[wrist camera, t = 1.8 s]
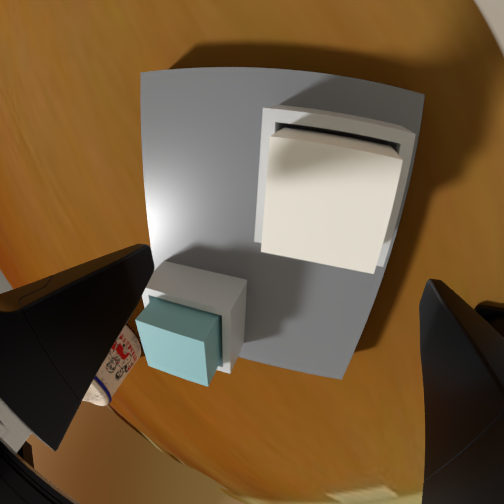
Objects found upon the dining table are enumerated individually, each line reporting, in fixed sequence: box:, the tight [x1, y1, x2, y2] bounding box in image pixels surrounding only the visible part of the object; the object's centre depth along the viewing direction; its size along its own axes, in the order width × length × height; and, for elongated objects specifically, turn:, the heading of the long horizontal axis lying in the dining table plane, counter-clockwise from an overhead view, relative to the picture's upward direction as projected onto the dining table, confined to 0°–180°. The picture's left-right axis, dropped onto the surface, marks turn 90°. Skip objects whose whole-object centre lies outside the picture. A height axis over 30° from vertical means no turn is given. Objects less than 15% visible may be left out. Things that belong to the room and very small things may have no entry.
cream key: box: [261, 128, 403, 274], centre depth 13 cm, size 5×5×3 cm
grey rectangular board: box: [141, 67, 425, 380], centre depth 20 cm, size 17×23×6 cm
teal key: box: [135, 297, 222, 386], centre depth 21 cm, size 5×5×3 cm
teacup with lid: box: [83, 324, 141, 406], centre depth 32 cm, size 12×9×12 cm
